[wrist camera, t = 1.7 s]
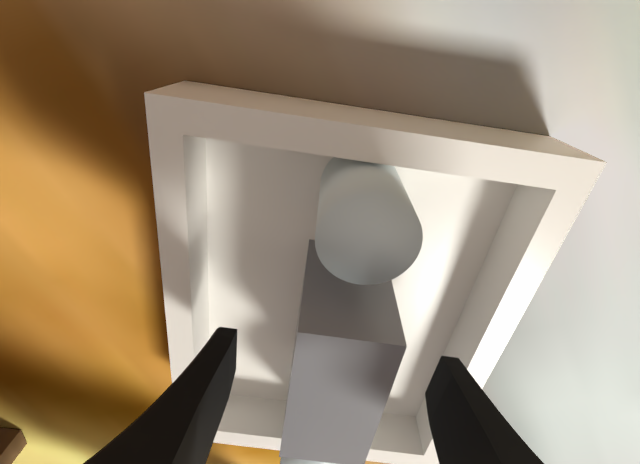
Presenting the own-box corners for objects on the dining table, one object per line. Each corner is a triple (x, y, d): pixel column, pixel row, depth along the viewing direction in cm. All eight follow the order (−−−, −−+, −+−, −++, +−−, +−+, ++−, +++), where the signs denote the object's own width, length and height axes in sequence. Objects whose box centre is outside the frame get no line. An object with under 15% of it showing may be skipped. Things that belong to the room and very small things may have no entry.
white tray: (424, 413, 20) (455, 543, 15) (198, 385, 20) (149, 510, 15) (550, 136, 13) (703, 207, 7) (185, 80, 12) (71, 113, 7)
